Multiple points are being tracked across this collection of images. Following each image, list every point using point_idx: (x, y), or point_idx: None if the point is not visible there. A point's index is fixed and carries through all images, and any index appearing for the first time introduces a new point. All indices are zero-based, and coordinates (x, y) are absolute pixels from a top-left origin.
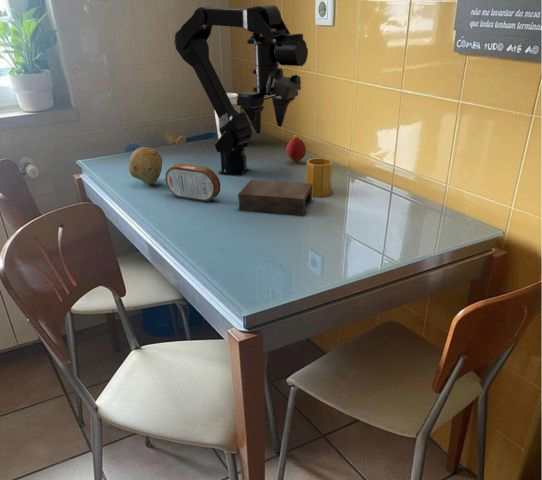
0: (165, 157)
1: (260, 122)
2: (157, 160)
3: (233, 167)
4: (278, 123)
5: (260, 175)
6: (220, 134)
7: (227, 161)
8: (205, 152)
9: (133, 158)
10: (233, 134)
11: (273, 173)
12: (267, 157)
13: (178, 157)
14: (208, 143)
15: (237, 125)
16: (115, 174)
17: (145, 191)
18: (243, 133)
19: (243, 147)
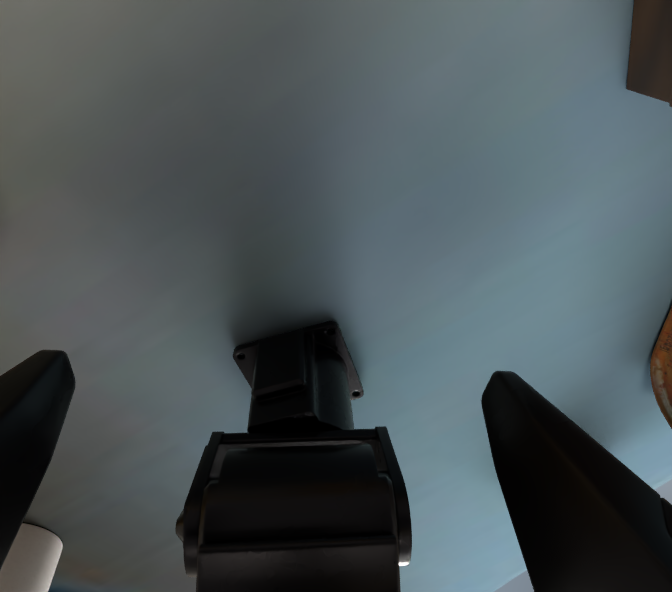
0: None
1: (591, 473)
2: None
3: (340, 370)
4: (59, 405)
5: (279, 243)
6: (46, 589)
7: (351, 410)
8: (173, 533)
9: None
10: (397, 520)
11: (204, 202)
12: (14, 366)
13: None
14: (85, 570)
15: (365, 579)
16: (498, 559)
17: (628, 450)
18: (319, 500)
19: (249, 434)
